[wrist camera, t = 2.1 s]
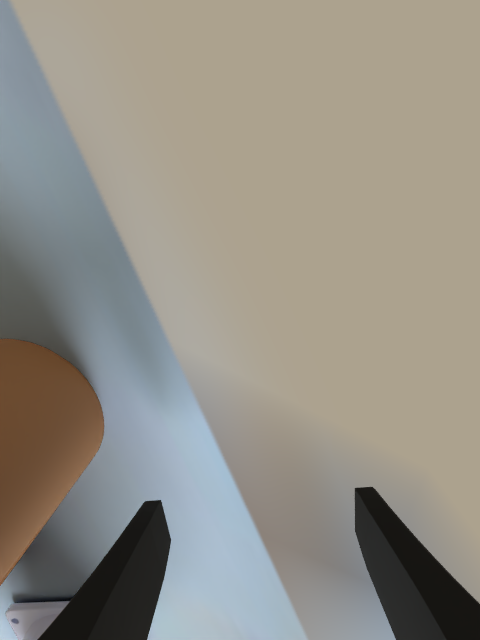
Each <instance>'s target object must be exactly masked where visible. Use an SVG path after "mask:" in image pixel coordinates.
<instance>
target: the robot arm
mask: <svg viewBox="0 0 480 640" xmlns="http://www.w3.org/2000/svg"><path fill="white" fill-rule="evenodd" d="M355 532H356V535H357V538H358V542H359V545H360V548H361V551H362V554H363V558H364V561H365V564H366V567H367V570H368V572H369V575H370V577H371V579H372V582H373V584H374V587H375V589H376V592H377V594H378V596H379V599H380V602H381V604H382V606H383V609H384V611H385V614H386V616H387V618H388V621H389V624H390V626H391V628H392V631H393V633H394V635H395V638H396V640H480V604H479V603H478V602H477V601H476V600H475V599H474V598H473V597H472V596H471V595H470V594H469V593H468V592H467V591H466V590H465V589H464V588H463V587H462V586H461V585H460V584H459V583H458V582H457V581H456V580H455V579H454V578H453V577H452V576H451V574H450V573H449V572H448V571H447V570H446V569H445V568H444V567H443V566H442V565H441V564H440V563H439V562H438V561H437V560H436V559H435V558H434V557H433V556H432V554H431V553H430V552H429V551H428V550H427V549H426V548H425V547H424V546H423V545H422V544H421V542H420V541H418V539H417V538H416V537H415V536H414V535H413V533H412V532H411V531H410V530H409V529H408V528H407V527H406V526H405V524H404V523H403V522H402V521H401V520H400V519H399V518H398V516H397V515H396V514H395V513H394V512H393V510H392V509H391V508H390V507H389V506H388V504H387V503H386V502H385V501H384V500H383V498H382V497H381V496H380V495H379V493H378V492H377V491H376V490H375V489H374V488H373V487H364V488H355ZM170 544H171V538H170V534H169V530H168V526H167V522H166V518H165V514H164V510H163V506H162V502H161V500H157V501H145V502H144V503H143V505H142V506H141V508H140V509H139V510H138V512H137V513H136V515H135V516H134V517H133V519H132V520H131V522H130V523H129V524H128V526H127V527H126V529H125V530H124V531H123V533H122V534H121V535H120V537H119V538H118V540H117V541H116V542H115V544H114V545H113V546H112V548H111V549H110V550H109V552H108V553H107V554H106V556H105V557H104V558H103V560H102V561H101V562H100V564H99V565H98V566H97V568H96V569H95V570H94V572H93V573H92V574H91V576H90V577H89V578H88V579H87V581H86V582H85V583H84V584H83V586H82V587H81V588H80V589H79V591H78V592H77V593H76V594H75V596H74V597H73V598H72V599H71V601H59V602H33V603H14V604H12V605H10V607H9V608H8V610H7V611H6V617H7V619H8V621H9V623H10V625H11V627H12V629H13V630H14V632H15V634H16V636H17V638H18V640H147V637H148V634H149V630H150V627H151V623H152V620H153V616H154V612H155V609H156V605H157V602H158V598H159V594H160V591H161V587H162V584H163V580H164V576H165V571H166V566H167V561H168V555H169V549H170Z"/></svg>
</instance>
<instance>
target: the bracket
mask: <svg viewBox="0 0 480 640" xmlns="http://www.w3.org/2000/svg"><path fill="white" fill-rule="evenodd" d="M103 434H104V418H103V412H102V408H101V405H100V402H99V400H98V397H97V395H96V393H95V392H94V390H93V388H92V387H91V385H90V384H89V382H88V381H87V380H86V378H85V377H84V376H83V375H82V374H81V373H80V372H79V371H78V370H77V369H76V368H75V367H74V366H73V365H72V364H71V363H69V362H68V361H67V360H65V359H64V358H62V357H60V356H59V355H57V354H56V353H54V352H52V351H51V350H49V349H47V348H44V347H42V346H40V345H37V344H34V343H30V342H26V341H22V340H15V339H0V586H1V584H2V583H3V582H4V580H5V579H6V577H7V576H8V575H9V573H10V572H11V571H12V569H13V568H14V567H15V565H16V564H17V563H18V561H19V560H20V559H21V557H22V556H23V554H24V553H25V552H26V550H27V549H28V548H29V546H30V545H31V543H32V542H33V541H34V539H35V538H36V536H37V535H38V534H39V532H40V531H41V529H42V528H43V527H44V525H45V524H46V523H47V521H48V520H49V518H50V517H51V516H52V514H53V513H54V511H55V510H56V509H57V507H58V506H59V505H60V503H61V502H62V500H63V499H64V498H65V496H66V495H67V493H68V492H69V491H70V489H71V488H72V487H73V485H74V484H75V482H76V481H77V480H78V478H79V477H80V475H81V474H82V473H83V471H84V470H85V469H86V467H87V466H88V464H89V463H90V462H91V460H92V459H93V457H94V456H95V455H96V453H97V451H98V449H99V448H100V445H101V442H102V439H103Z"/></svg>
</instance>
